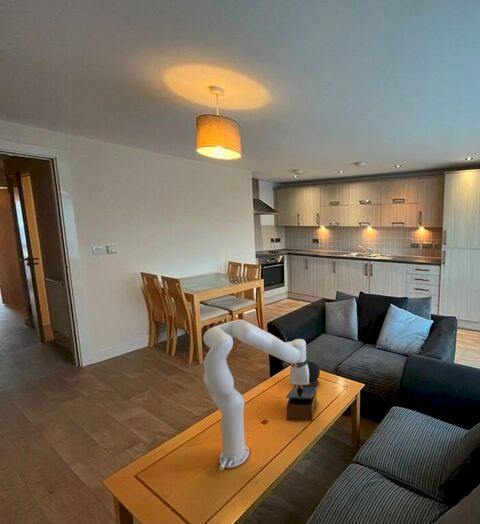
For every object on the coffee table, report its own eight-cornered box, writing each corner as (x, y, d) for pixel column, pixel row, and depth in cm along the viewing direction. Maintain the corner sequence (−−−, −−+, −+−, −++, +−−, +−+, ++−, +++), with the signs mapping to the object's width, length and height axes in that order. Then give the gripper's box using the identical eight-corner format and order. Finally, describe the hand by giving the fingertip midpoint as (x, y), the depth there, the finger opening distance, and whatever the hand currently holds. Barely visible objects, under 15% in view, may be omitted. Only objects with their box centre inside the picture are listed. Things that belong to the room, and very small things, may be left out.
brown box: (311, 420, 153) (311, 405, 151) (286, 419, 153) (286, 404, 152) (316, 402, 168) (316, 388, 167) (294, 401, 169) (293, 387, 167)
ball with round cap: (310, 392, 177) (310, 370, 175) (295, 385, 184) (294, 364, 182) (323, 382, 188) (323, 361, 186) (308, 376, 195) (308, 356, 193)
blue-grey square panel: (311, 399, 150) (311, 397, 150) (286, 398, 151) (286, 396, 151) (316, 388, 167) (316, 387, 167) (293, 387, 167) (293, 386, 167)
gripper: (283, 365, 147) (284, 398, 150) (311, 366, 147) (312, 399, 150) (287, 358, 155) (288, 389, 158) (314, 359, 154) (315, 390, 157)
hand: (300, 394), depth 154 cm, fingers closed
